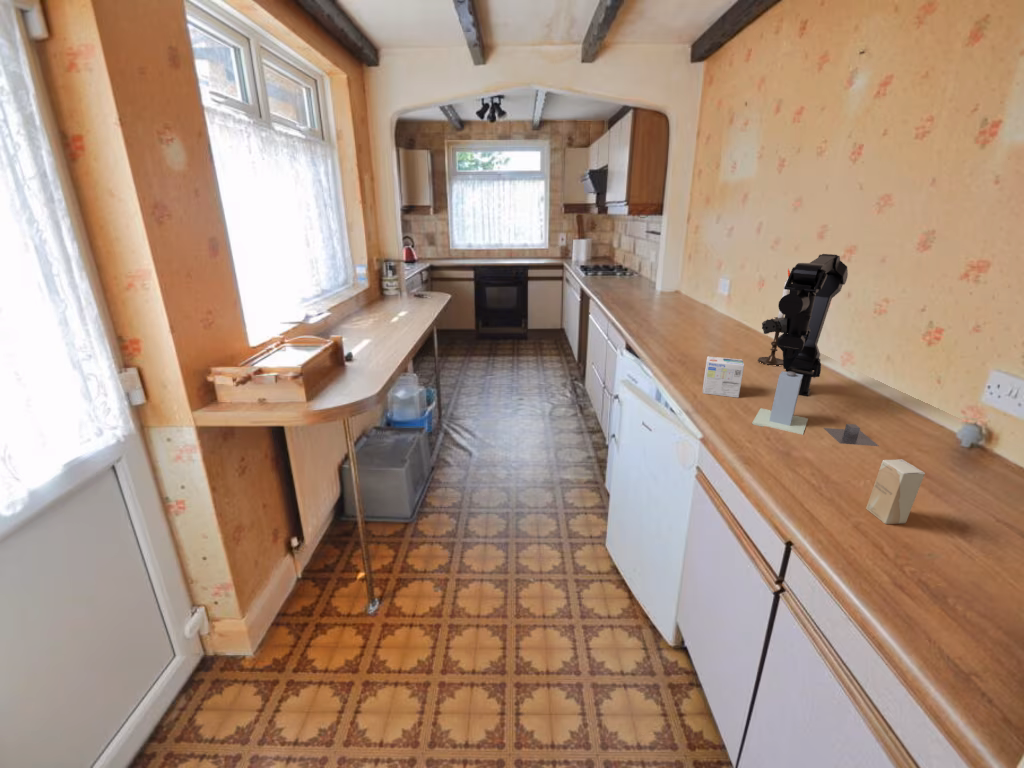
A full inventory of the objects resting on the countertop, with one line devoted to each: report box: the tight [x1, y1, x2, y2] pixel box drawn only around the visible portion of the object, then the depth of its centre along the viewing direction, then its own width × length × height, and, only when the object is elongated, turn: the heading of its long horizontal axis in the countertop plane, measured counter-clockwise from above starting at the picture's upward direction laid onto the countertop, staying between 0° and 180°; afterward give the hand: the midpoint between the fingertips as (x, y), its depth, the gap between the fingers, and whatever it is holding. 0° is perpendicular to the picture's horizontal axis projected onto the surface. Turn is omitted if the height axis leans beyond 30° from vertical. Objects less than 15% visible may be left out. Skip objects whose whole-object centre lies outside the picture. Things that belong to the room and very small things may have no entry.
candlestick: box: [757, 268, 791, 367], centre depth 178 cm, size 11×11×35 cm
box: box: [865, 458, 926, 525], centre depth 91 cm, size 5×4×11 cm
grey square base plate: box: [823, 423, 880, 447], centre depth 123 cm, size 9×9×3 cm
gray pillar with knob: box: [769, 370, 803, 426], centre depth 130 cm, size 5×5×14 cm
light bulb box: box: [702, 355, 745, 398], centre depth 152 cm, size 11×7×11 cm, turn 71°
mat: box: [751, 407, 809, 436], centre depth 132 cm, size 12×12×1 cm
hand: (788, 364), depth 138 cm, fingers open, 9 cm apart
